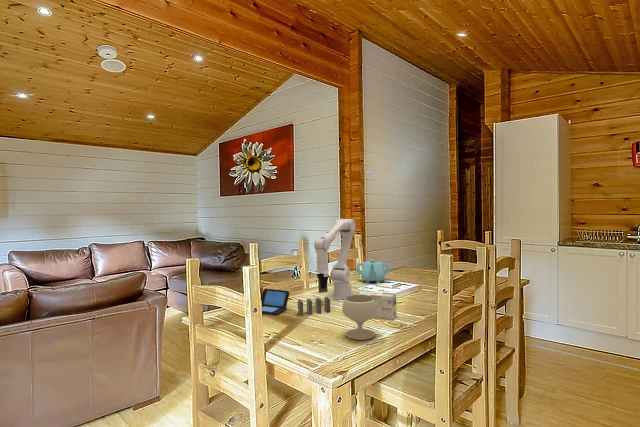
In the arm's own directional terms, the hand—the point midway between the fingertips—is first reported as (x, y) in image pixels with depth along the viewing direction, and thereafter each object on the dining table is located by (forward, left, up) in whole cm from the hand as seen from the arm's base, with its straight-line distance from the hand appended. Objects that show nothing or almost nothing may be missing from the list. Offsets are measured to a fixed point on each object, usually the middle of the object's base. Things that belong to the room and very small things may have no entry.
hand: (323, 287), depth 194 cm
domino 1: (+15, +11, -9) cm, 20 cm away
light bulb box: (-21, +28, -9) cm, 36 cm away
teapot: (-45, -38, -9) cm, 60 cm away
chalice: (-2, +46, -9) cm, 47 cm away
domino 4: (0, 0, -2) cm, 2 cm away
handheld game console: (+27, -1, -9) cm, 29 cm away
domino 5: (+1, +11, -9) cm, 14 cm away
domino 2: (+10, +11, -9) cm, 17 cm away
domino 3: (+6, +11, -9) cm, 15 cm away
